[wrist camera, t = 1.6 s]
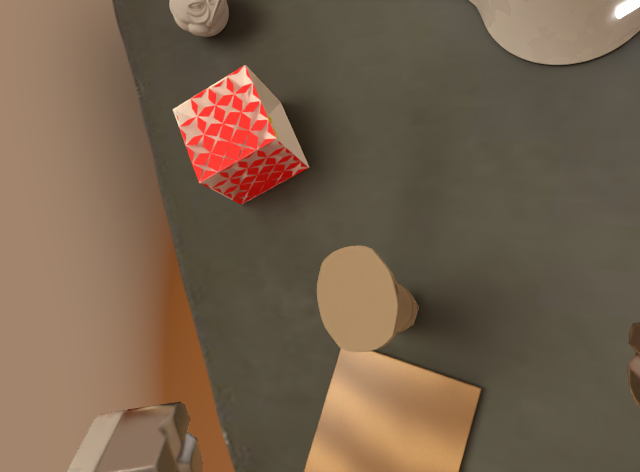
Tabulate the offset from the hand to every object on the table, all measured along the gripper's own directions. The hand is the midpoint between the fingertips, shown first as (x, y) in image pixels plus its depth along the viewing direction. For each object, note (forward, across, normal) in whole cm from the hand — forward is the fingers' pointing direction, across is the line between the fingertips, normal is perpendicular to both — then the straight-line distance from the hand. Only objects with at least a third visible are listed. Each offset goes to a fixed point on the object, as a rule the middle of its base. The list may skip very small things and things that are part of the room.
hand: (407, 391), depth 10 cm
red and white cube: (+45, +7, +4) cm, 46 cm away
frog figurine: (+55, +9, -8) cm, 56 cm away
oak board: (+26, 0, +28) cm, 38 cm away
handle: (+32, -4, +18) cm, 37 cm away
